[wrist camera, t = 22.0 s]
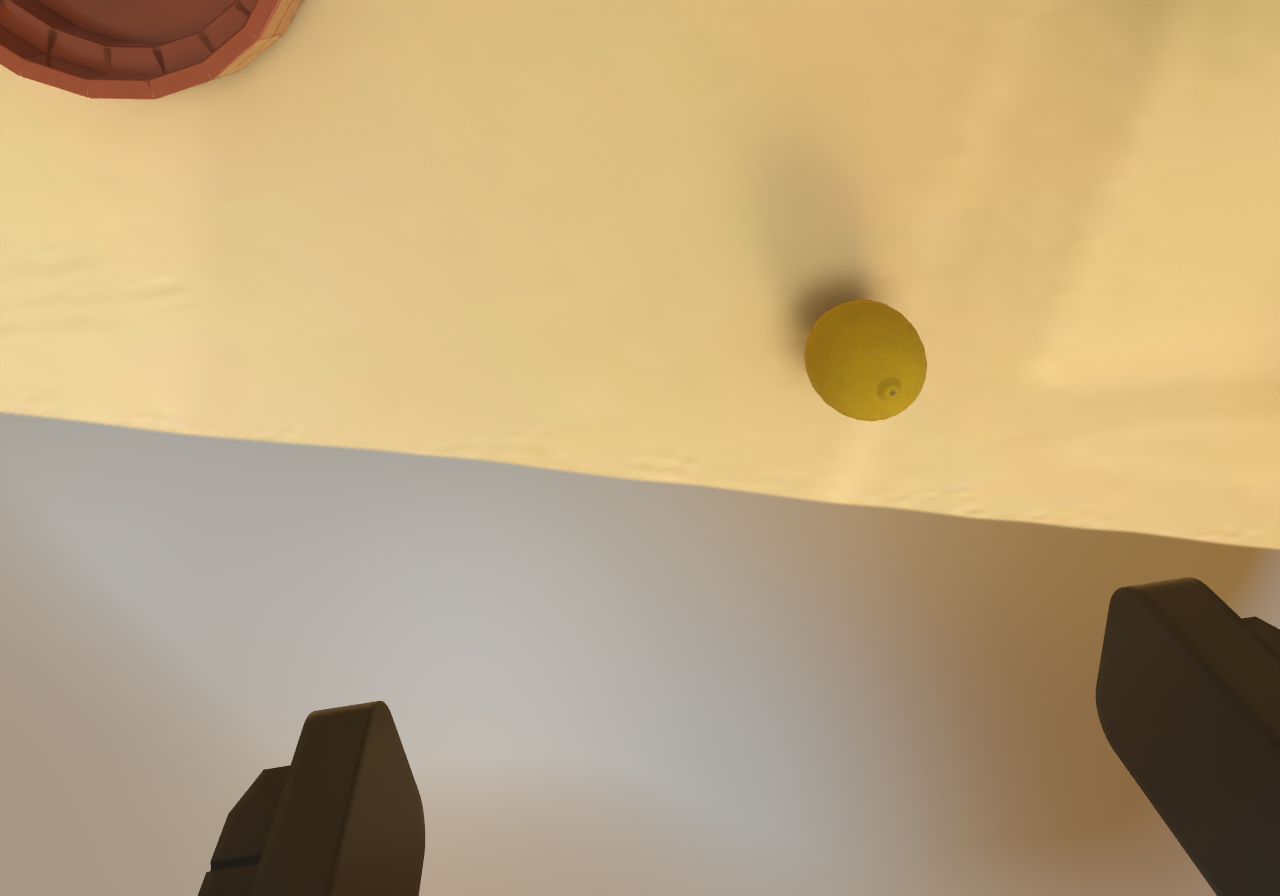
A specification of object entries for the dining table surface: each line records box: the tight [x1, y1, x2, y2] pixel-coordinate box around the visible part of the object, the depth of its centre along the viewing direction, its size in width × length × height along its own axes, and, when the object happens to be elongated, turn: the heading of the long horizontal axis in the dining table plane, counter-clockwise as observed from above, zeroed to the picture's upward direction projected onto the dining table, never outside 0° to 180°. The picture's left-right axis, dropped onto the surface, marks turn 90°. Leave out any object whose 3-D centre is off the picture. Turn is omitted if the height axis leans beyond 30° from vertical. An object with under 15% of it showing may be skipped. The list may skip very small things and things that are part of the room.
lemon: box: [805, 300, 927, 421], centre depth 44 cm, size 6×6×8 cm
